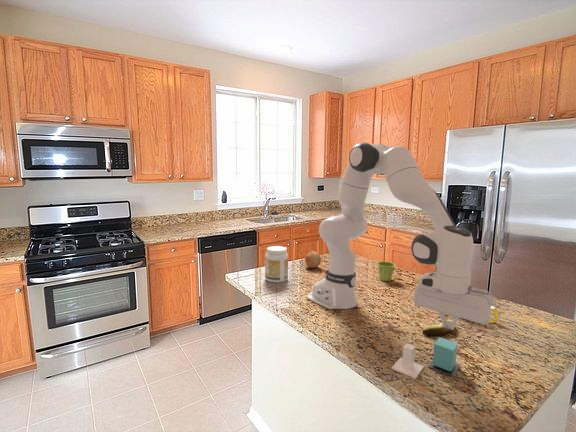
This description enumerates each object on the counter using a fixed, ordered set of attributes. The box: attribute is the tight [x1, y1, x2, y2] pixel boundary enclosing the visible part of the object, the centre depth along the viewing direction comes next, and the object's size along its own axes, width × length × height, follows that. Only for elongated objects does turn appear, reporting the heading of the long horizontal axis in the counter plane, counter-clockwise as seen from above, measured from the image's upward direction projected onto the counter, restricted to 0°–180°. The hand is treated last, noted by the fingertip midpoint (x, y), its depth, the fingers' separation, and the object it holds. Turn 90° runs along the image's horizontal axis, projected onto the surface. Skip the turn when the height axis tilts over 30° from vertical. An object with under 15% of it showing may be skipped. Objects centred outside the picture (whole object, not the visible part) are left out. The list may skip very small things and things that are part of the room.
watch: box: [489, 305, 499, 324], centre depth 127 cm, size 6×3×6 cm, turn 18°
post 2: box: [428, 359, 461, 378], centre depth 96 cm, size 7×7×7 cm
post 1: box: [391, 342, 425, 380], centre depth 95 cm, size 7×7×7 cm
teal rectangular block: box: [432, 336, 459, 371], centre depth 96 cm, size 5×5×7 cm
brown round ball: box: [304, 250, 322, 269], centre depth 192 cm, size 10×10×10 cm
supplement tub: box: [264, 245, 289, 284], centre depth 170 cm, size 12×12×17 cm
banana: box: [387, 319, 483, 344], centre depth 120 cm, size 35×27×4 cm
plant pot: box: [376, 261, 396, 282], centre depth 173 cm, size 9×9×9 cm
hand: (448, 327), depth 95 cm, fingers closed
